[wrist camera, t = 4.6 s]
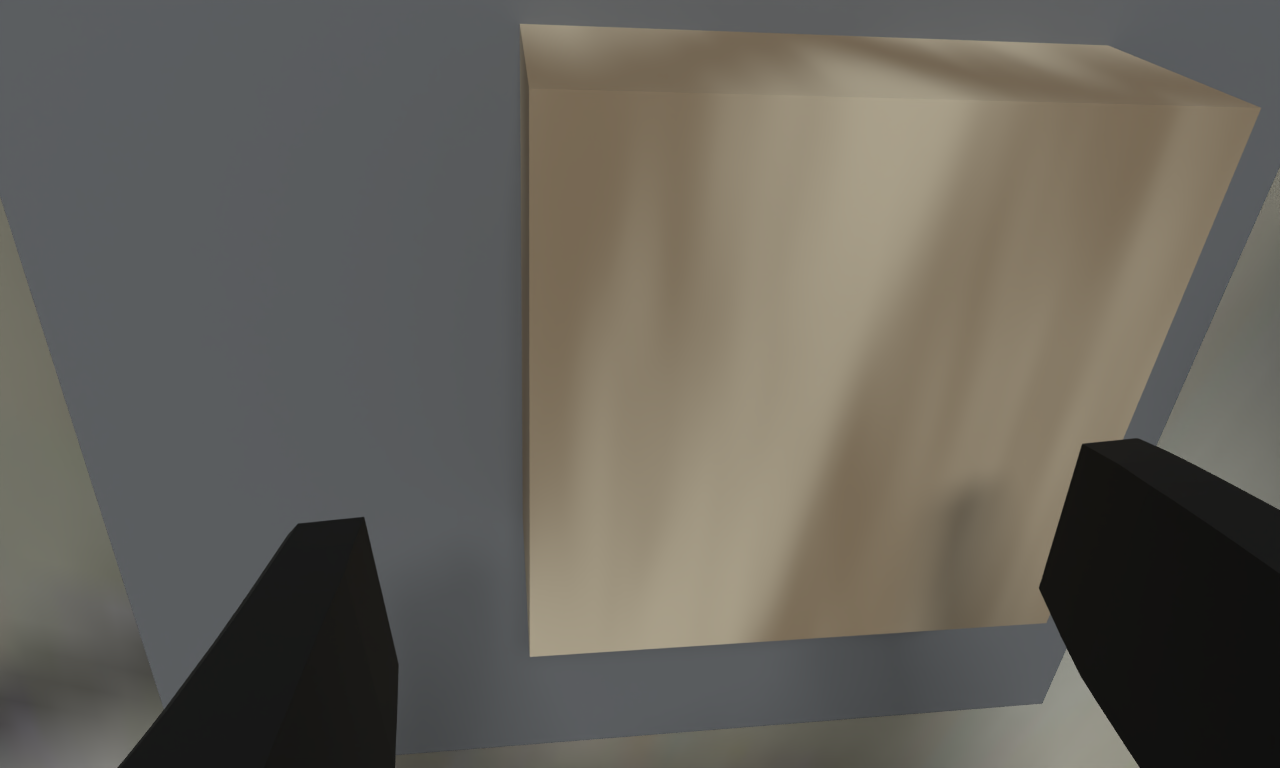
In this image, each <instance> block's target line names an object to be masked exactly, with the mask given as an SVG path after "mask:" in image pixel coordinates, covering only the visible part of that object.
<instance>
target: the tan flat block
mask: <svg viewBox="0 0 1280 768" xmlns="http://www.w3.org/2000/svg"><path fill="white" fill-rule="evenodd" d="M1260 110H1261V108H1260V107H1258V106H1255V105H1253V104H1251V103H1248V102H1246V101H1243V100H1241V99H1238V98H1236V97H1233V96H1231V95H1228V94H1226V93H1224V92H1221V91H1219V90H1216V89H1214V88H1211V87H1209V86H1206V85H1204V84H1202V83H1199V82H1197V81H1194V80H1192V79H1189V78H1187V77H1184V76H1182V75H1180V74H1177V73H1175V72H1172V71H1170V70H1167V69H1165V68H1162V67H1160V66H1157V65H1155V64H1153V63H1150V62H1148V61H1145V60H1143V59H1140V58H1138V57H1135V56H1133V55H1131V54H1128V53H1126V52H1123V51H1121V50H1118V49H1116V48H1113V47H1111V46H1108V45H1083V44H1055V43H1028V42H1001V41H974V40H947V39H920V38H892V37H865V36H838V35H811V34H784V33H757V32H729V31H702V30H675V29H648V28H621V27H594V26H566V25H539V24H520V144H521V308H522V472H523V533H524V553H525V573H526V593H527V612H528V632H529V652H530V657H537V656H552V655H567V654H582V653H598V652H613V651H628V650H643V649H659V648H674V647H689V646H705V645H720V644H735V643H750V642H766V641H781V640H796V639H811V638H827V637H842V636H857V635H872V634H888V633H903V632H918V631H933V630H949V629H964V628H979V627H994V626H1010V625H1025V624H1040V623H1047V620H1048V618H1049V616H1050V612H1049V610H1048V608H1047V605H1046V603H1045V601H1044V599H1043V597H1042V594H1041V592H1040V590H1039V586H1040V582H1041V579H1042V576H1043V572H1044V569H1045V566H1046V562H1047V559H1048V556H1049V552H1050V549H1051V546H1052V542H1053V539H1054V536H1055V532H1056V529H1057V526H1058V522H1059V519H1060V516H1061V512H1062V509H1063V506H1064V502H1065V499H1066V496H1067V492H1068V489H1069V486H1070V482H1071V479H1072V476H1073V472H1074V469H1075V466H1076V462H1077V459H1078V456H1079V452H1080V449H1081V446H1082V444H1084V443H1093V442H1103V441H1113V440H1123V438H1124V436H1125V433H1126V431H1127V429H1128V426H1129V424H1130V421H1131V419H1132V417H1133V414H1134V412H1135V409H1136V407H1137V405H1138V402H1139V400H1140V397H1141V395H1142V393H1143V390H1144V388H1145V385H1146V383H1147V381H1148V378H1149V376H1150V374H1151V371H1152V369H1153V366H1154V364H1155V362H1156V359H1157V357H1158V354H1159V352H1160V350H1161V347H1162V345H1163V342H1164V340H1165V338H1166V335H1167V333H1168V330H1169V328H1170V326H1171V323H1172V321H1173V318H1174V316H1175V314H1176V311H1177V309H1178V306H1179V304H1180V302H1181V299H1182V297H1183V294H1184V292H1185V290H1186V287H1187V285H1188V282H1189V280H1190V278H1191V275H1192V273H1193V270H1194V268H1195V266H1196V263H1197V261H1198V258H1199V256H1200V254H1201V251H1202V249H1203V246H1204V244H1205V242H1206V239H1207V237H1208V234H1209V232H1210V230H1211V227H1212V225H1213V222H1214V220H1215V218H1216V215H1217V213H1218V210H1219V208H1220V206H1221V203H1222V201H1223V199H1224V196H1225V194H1226V191H1227V189H1228V187H1229V184H1230V182H1231V179H1232V177H1233V175H1234V172H1235V170H1236V167H1237V165H1238V163H1239V160H1240V158H1241V155H1242V153H1243V151H1244V148H1245V146H1246V143H1247V141H1248V139H1249V136H1250V134H1251V131H1252V129H1253V127H1254V124H1255V122H1256V119H1257V117H1258V115H1259V112H1260Z"/></svg>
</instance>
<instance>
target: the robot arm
mask: <svg viewBox="0 0 1280 768" xmlns="http://www.w3.org/2000/svg"><path fill="white" fill-rule="evenodd" d="M1039 590H1040V592H1041V594H1042V597H1043V599H1044V601H1045V603H1046V605H1047V608H1048V610H1049V612H1050V614H1051V616H1052V618H1053V621H1054V623H1055V625H1056V627H1057V629H1058V632H1059V634H1060V636H1061V638H1062V640H1063V642H1064V644H1065V646H1066V648H1067V650H1068V652H1069V654H1070V656H1071V658H1072V660H1073V662H1074V664H1075V666H1076V668H1077V670H1078V672H1079V674H1080V676H1081V677H1082V679H1083V680H1084V682H1085V684H1086V685H1087V687H1088V688H1089V690H1090V692H1091V693H1092V695H1093V696H1094V698H1095V700H1096V701H1097V703H1098V704H1099V706H1100V707H1101V709H1102V710H1103V712H1104V714H1105V715H1106V717H1107V718H1108V720H1109V721H1110V723H1111V724H1112V726H1113V727H1114V729H1115V730H1116V732H1117V734H1118V735H1119V737H1120V738H1121V740H1122V741H1123V743H1124V744H1125V746H1126V747H1127V749H1128V751H1129V752H1130V754H1131V755H1132V757H1133V758H1134V760H1135V761H1136V763H1137V764H1138V766H1139V767H1140V768H1280V510H1279V509H1277V508H1275V507H1273V506H1271V505H1269V504H1267V503H1266V502H1264V501H1262V500H1260V499H1258V498H1256V497H1254V496H1253V495H1251V494H1249V493H1247V492H1245V491H1243V490H1241V489H1239V488H1238V487H1236V486H1234V485H1232V484H1230V483H1228V482H1226V481H1224V480H1222V479H1221V478H1219V477H1217V476H1215V475H1213V474H1211V473H1209V472H1207V471H1205V470H1203V469H1201V468H1199V467H1198V466H1196V465H1194V464H1192V463H1190V462H1188V461H1186V460H1184V459H1182V458H1180V457H1178V456H1176V455H1174V454H1172V453H1170V452H1167V451H1165V450H1163V449H1161V448H1159V447H1157V446H1155V445H1152V444H1150V443H1148V442H1146V441H1144V440H1141V439H1139V438H1133V439H1123V440H1113V441H1103V442H1093V443H1084V444H1082V446H1081V449H1080V452H1079V456H1078V459H1077V462H1076V466H1075V469H1074V472H1073V476H1072V479H1071V482H1070V486H1069V489H1068V492H1067V496H1066V499H1065V502H1064V506H1063V509H1062V512H1061V516H1060V519H1059V522H1058V526H1057V529H1056V532H1055V536H1054V539H1053V542H1052V546H1051V549H1050V552H1049V556H1048V559H1047V562H1046V566H1045V569H1044V572H1043V576H1042V579H1041V582H1040V586H1039ZM398 673H399V663H398V659H397V655H396V650H395V646H394V642H393V638H392V633H391V629H390V625H389V620H388V616H387V612H386V608H385V603H384V599H383V595H382V590H381V586H380V582H379V578H378V573H377V569H376V565H375V560H374V556H373V552H372V548H371V543H370V539H369V535H368V530H367V526H366V522H365V518H364V517H357V518H347V519H337V520H327V521H317V522H308V523H298V524H297V525H296V526H295V527H294V528H293V530H292V531H291V532H290V533H289V534H288V535H287V537H286V538H285V540H284V541H283V543H282V544H281V546H280V547H279V548H278V550H277V551H276V553H275V554H274V556H273V557H272V559H271V560H270V562H269V563H268V565H267V566H266V568H265V569H264V571H263V572H262V574H261V575H260V577H259V578H258V580H257V581H256V583H255V584H254V585H253V587H252V588H251V590H250V591H249V593H248V594H247V596H246V597H245V599H244V600H243V601H242V603H241V604H240V606H239V607H238V609H237V610H236V612H235V613H234V614H233V616H232V617H231V619H230V620H229V621H228V623H227V624H226V626H225V627H224V629H223V630H222V631H221V633H220V634H219V636H218V637H217V638H216V640H215V641H214V643H213V644H212V645H211V647H210V648H209V650H208V651H207V652H206V654H205V655H204V656H203V658H202V659H201V660H200V662H199V663H198V664H197V666H196V667H195V668H194V670H193V671H192V672H191V674H190V675H189V676H188V678H187V679H186V680H185V682H184V683H183V685H182V686H181V687H180V689H179V690H178V691H177V693H176V694H175V695H174V697H173V698H172V699H171V701H170V702H169V703H168V705H167V706H166V707H165V709H164V710H163V711H162V713H161V714H160V715H159V717H158V718H157V719H156V721H155V722H154V723H153V724H152V726H151V727H150V728H149V730H148V731H147V732H146V733H145V735H144V736H143V737H142V738H141V740H140V741H139V742H138V743H137V745H136V746H135V747H134V748H133V749H132V751H131V752H130V753H129V754H128V756H127V757H126V758H125V759H124V761H123V762H122V763H121V764H120V765H119V767H118V768H395V754H396V732H397V705H398Z"/></svg>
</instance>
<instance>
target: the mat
mask: <svg viewBox="0 0 1280 768" xmlns="http://www.w3.org/2000/svg"><path fill="white" fill-rule="evenodd" d="M520 24H539V25H566V26H594V27H621V28H648V29H675V30H702V31H729V32H757V33H784V34H811V35H838V36H865V37H892V38H920V39H947V40H974V41H1001V42H1028V43H1055V44H1083V45H1108V46H1111V47H1113V48H1116V49H1118V50H1121V51H1123V52H1126V53H1128V54H1131V55H1133V56H1135V57H1138V58H1140V59H1143V60H1145V61H1148V62H1150V63H1153V64H1155V65H1157V66H1160V67H1162V68H1165V69H1167V70H1170V71H1172V72H1175V73H1177V74H1180V75H1182V76H1184V77H1187V78H1189V79H1192V80H1194V81H1197V82H1199V83H1202V84H1204V85H1206V86H1209V87H1211V88H1214V89H1216V90H1219V91H1221V92H1224V93H1226V94H1228V95H1231V96H1233V97H1236V98H1238V99H1241V100H1243V101H1246V102H1248V103H1251V104H1253V105H1255V106H1258V107H1260V108H1261V110H1260V112H1259V115H1258V117H1257V119H1256V122H1255V124H1254V127H1253V129H1252V131H1251V134H1250V136H1249V139H1248V141H1247V143H1246V146H1245V148H1244V151H1243V153H1242V155H1241V158H1240V160H1239V163H1238V165H1237V167H1236V170H1235V172H1234V175H1233V177H1232V179H1231V182H1230V184H1229V187H1228V189H1227V191H1226V194H1225V196H1224V199H1223V201H1222V203H1221V206H1220V208H1219V210H1218V213H1217V215H1216V218H1215V220H1214V222H1213V225H1212V227H1211V230H1210V232H1209V234H1208V237H1207V239H1206V242H1205V244H1204V246H1203V249H1202V251H1201V254H1200V256H1199V258H1198V261H1197V263H1196V266H1195V268H1194V270H1193V273H1192V275H1191V278H1190V280H1189V282H1188V285H1187V287H1186V290H1185V292H1184V294H1183V297H1182V299H1181V302H1180V304H1179V306H1178V309H1177V311H1176V314H1175V316H1174V318H1173V321H1172V323H1171V326H1170V328H1169V330H1168V333H1167V335H1166V338H1165V340H1164V342H1163V345H1162V347H1161V350H1160V352H1159V354H1158V357H1157V359H1156V362H1155V364H1154V366H1153V369H1152V371H1151V374H1150V376H1149V378H1148V381H1147V383H1146V385H1145V388H1144V390H1143V393H1142V395H1141V397H1140V400H1139V402H1138V405H1137V407H1136V409H1135V412H1134V414H1133V417H1132V419H1131V421H1130V424H1129V426H1128V429H1127V431H1126V433H1125V436H1124V438H1123V439H1133V438H1139V439H1141V440H1144V441H1146V442H1148V443H1150V444H1152V445H1155V446H1156V445H1157V443H1158V441H1159V438H1160V436H1161V434H1162V432H1163V429H1164V427H1165V425H1166V423H1167V420H1168V418H1169V416H1170V413H1171V411H1172V409H1173V407H1174V404H1175V402H1176V400H1177V398H1178V395H1179V393H1180V391H1181V389H1182V386H1183V384H1184V382H1185V380H1186V377H1187V375H1188V373H1189V371H1190V368H1191V366H1192V364H1193V361H1194V359H1195V357H1196V355H1197V352H1198V350H1199V348H1200V346H1201V343H1202V341H1203V339H1204V337H1205V334H1206V332H1207V330H1208V328H1209V325H1210V323H1211V321H1212V319H1213V316H1214V314H1215V312H1216V310H1217V307H1218V305H1219V303H1220V300H1221V298H1222V296H1223V294H1224V291H1225V289H1226V287H1227V285H1228V282H1229V280H1230V278H1231V276H1232V273H1233V271H1234V269H1235V267H1236V264H1237V262H1238V260H1239V258H1240V255H1241V253H1242V251H1243V249H1244V246H1245V244H1246V242H1247V239H1248V237H1249V235H1250V233H1251V230H1252V228H1253V226H1254V224H1255V221H1256V219H1257V217H1258V215H1259V212H1260V210H1261V208H1262V206H1263V203H1264V201H1265V199H1266V197H1267V194H1268V192H1269V190H1270V187H1271V185H1272V183H1273V181H1274V178H1275V176H1276V174H1277V172H1278V169H1279V167H1280V0H0V197H1V200H2V203H3V206H4V210H5V213H6V216H7V219H8V222H9V225H10V228H11V232H12V235H13V238H14V241H15V244H16V247H17V250H18V253H19V257H20V260H21V263H22V266H23V269H24V272H25V275H26V279H27V282H28V285H29V288H30V291H31V294H32V297H33V300H34V304H35V307H36V310H37V313H38V316H39V319H40V322H41V326H42V329H43V332H44V335H45V338H46V341H47V344H48V347H49V351H50V354H51V357H52V360H53V363H54V366H55V369H56V373H57V376H58V379H59V382H60V385H61V388H62V391H63V394H64V398H65V401H66V404H67V407H68V410H69V413H70V416H71V419H72V423H73V426H74V429H75V432H76V435H77V438H78V441H79V445H80V448H81V451H82V454H83V457H84V460H85V463H86V466H87V470H88V473H89V476H90V479H91V482H92V485H93V488H94V492H95V495H96V498H97V501H98V504H99V507H100V510H101V513H102V517H103V520H104V523H105V526H106V529H107V532H108V535H109V539H110V542H111V545H112V548H113V551H114V554H115V557H116V560H117V564H118V567H119V570H120V573H121V576H122V579H123V582H124V586H125V589H126V592H127V595H128V598H129V601H130V604H131V607H132V611H133V614H134V617H135V620H136V623H137V626H138V629H139V632H140V636H141V639H142V642H143V645H144V648H145V651H146V654H147V658H148V661H149V664H150V667H151V670H152V673H153V676H154V679H155V683H156V686H157V689H158V692H159V695H160V698H161V701H162V705H163V708H164V709H165V707H166V706H167V705H168V703H169V702H170V701H171V699H172V698H173V697H174V695H175V694H176V693H177V691H178V690H179V689H180V687H181V686H182V685H183V683H184V682H185V680H186V679H187V678H188V676H189V675H190V674H191V672H192V671H193V670H194V668H195V667H196V666H197V664H198V663H199V662H200V660H201V659H202V658H203V656H204V655H205V654H206V652H207V651H208V650H209V648H210V647H211V645H212V644H213V643H214V641H215V640H216V638H217V637H218V636H219V634H220V633H221V631H222V630H223V629H224V627H225V626H226V624H227V623H228V621H229V620H230V619H231V617H232V616H233V614H234V613H235V612H236V610H237V609H238V607H239V606H240V604H241V603H242V601H243V600H244V599H245V597H246V596H247V594H248V593H249V591H250V590H251V588H252V587H253V585H254V584H255V583H256V581H257V580H258V578H259V577H260V575H261V574H262V572H263V571H264V569H265V568H266V566H267V565H268V563H269V562H270V560H271V559H272V557H273V556H274V554H275V553H276V551H277V550H278V548H279V547H280V546H281V544H282V543H283V541H284V540H285V538H286V537H287V535H288V534H289V533H290V532H291V531H292V530H293V528H294V527H295V526H296V525H297V524H298V523H308V522H317V521H327V520H337V519H347V518H357V517H364V518H365V522H366V526H367V530H368V535H369V539H370V543H371V548H372V552H373V556H374V560H375V565H376V569H377V573H378V578H379V582H380V586H381V590H382V595H383V599H384V603H385V608H386V612H387V616H388V620H389V625H390V629H391V633H392V638H393V642H394V646H395V650H396V655H397V659H398V663H399V673H398V705H397V732H396V754H395V755H402V754H415V753H427V752H440V751H452V750H465V749H477V748H490V747H503V746H515V745H528V744H540V743H553V742H565V741H578V740H590V739H603V738H616V737H628V736H641V735H653V734H666V733H678V732H691V731H703V730H716V729H729V728H741V727H754V726H766V725H779V724H791V723H804V722H816V721H829V720H841V719H854V718H867V717H879V716H892V715H904V714H917V713H929V712H942V711H954V710H967V709H980V708H992V707H1005V706H1017V705H1030V704H1042V703H1043V700H1044V698H1045V696H1046V694H1047V691H1048V689H1049V687H1050V685H1051V682H1052V680H1053V678H1054V676H1055V673H1056V671H1057V669H1058V667H1059V664H1060V662H1061V660H1062V658H1063V655H1064V653H1065V651H1066V646H1065V644H1064V642H1063V640H1062V638H1061V636H1060V634H1059V632H1058V629H1057V627H1056V625H1055V623H1054V621H1053V618H1052V616H1051V614H1050V616H1049V618H1048V620H1047V623H1040V624H1025V625H1010V626H994V627H979V628H964V629H949V630H933V631H918V632H903V633H888V634H872V635H857V636H842V637H827V638H811V639H796V640H781V641H766V642H750V643H735V644H720V645H705V646H689V647H674V648H659V649H643V650H628V651H613V652H598V653H582V654H567V655H552V656H537V657H530V652H529V632H528V612H527V593H526V573H525V553H524V533H523V472H522V308H521V144H520Z"/></svg>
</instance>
